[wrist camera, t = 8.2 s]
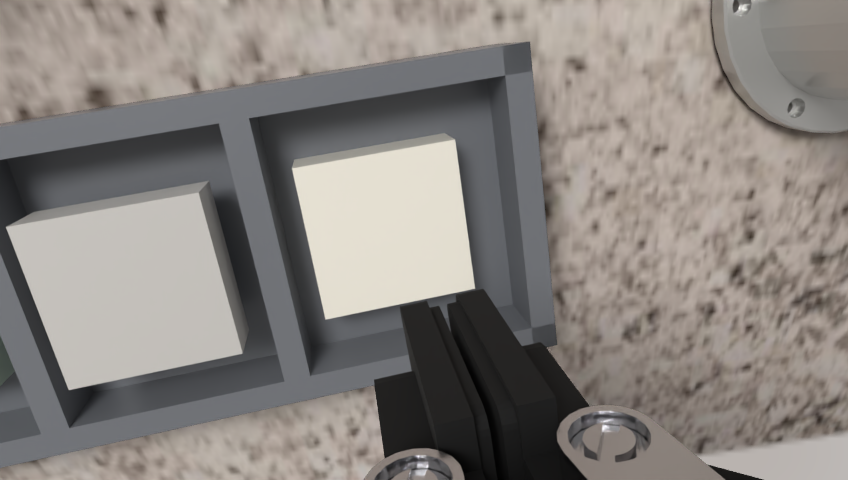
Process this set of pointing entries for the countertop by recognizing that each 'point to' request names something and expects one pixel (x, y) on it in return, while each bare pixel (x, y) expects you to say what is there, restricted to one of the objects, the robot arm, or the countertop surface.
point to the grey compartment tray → (271, 232)
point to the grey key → (132, 283)
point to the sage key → (5, 364)
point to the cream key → (385, 224)
